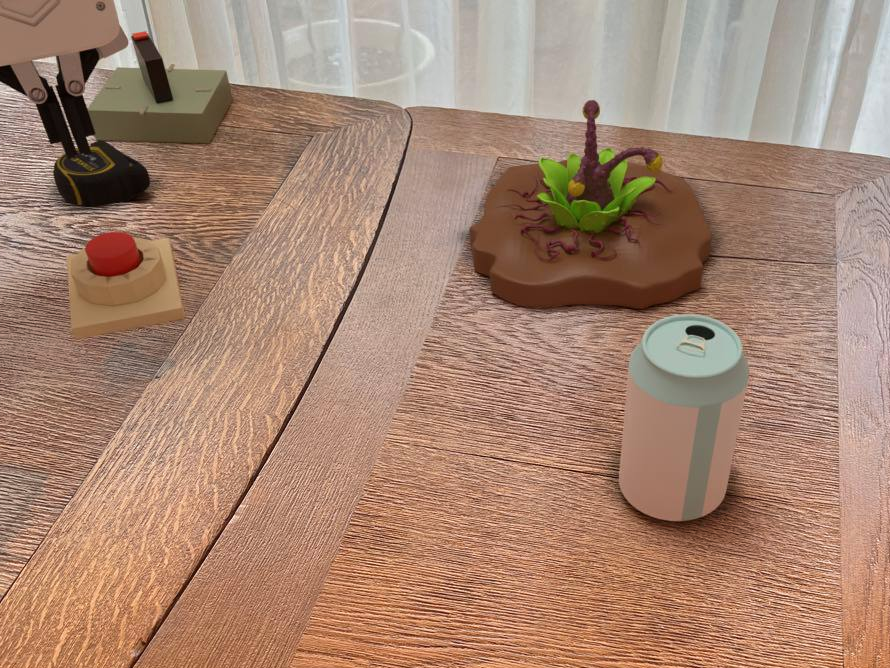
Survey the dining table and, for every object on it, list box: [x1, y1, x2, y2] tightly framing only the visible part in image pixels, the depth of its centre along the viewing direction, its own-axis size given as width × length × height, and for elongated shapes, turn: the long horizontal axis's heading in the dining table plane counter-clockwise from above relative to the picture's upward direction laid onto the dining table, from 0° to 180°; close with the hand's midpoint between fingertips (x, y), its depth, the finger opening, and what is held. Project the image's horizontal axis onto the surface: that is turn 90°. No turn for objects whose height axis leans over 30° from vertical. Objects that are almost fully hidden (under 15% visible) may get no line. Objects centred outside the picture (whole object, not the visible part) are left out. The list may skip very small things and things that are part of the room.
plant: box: [469, 99, 713, 310], centre depth 83 cm, size 20×20×11 cm
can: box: [618, 313, 750, 522], centre depth 64 cm, size 7×7×12 cm
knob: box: [130, 30, 173, 103], centre depth 97 cm, size 6×2×4 cm, turn 27°
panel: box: [87, 63, 234, 144], centre depth 100 cm, size 11×10×3 cm
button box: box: [65, 237, 186, 340], centre depth 80 cm, size 10×8×4 cm
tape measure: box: [52, 140, 151, 208], centre depth 90 cm, size 7×7×4 cm
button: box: [84, 231, 141, 277], centre depth 78 cm, size 4×4×2 cm
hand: (76, 147), depth 71 cm, fingers closed
